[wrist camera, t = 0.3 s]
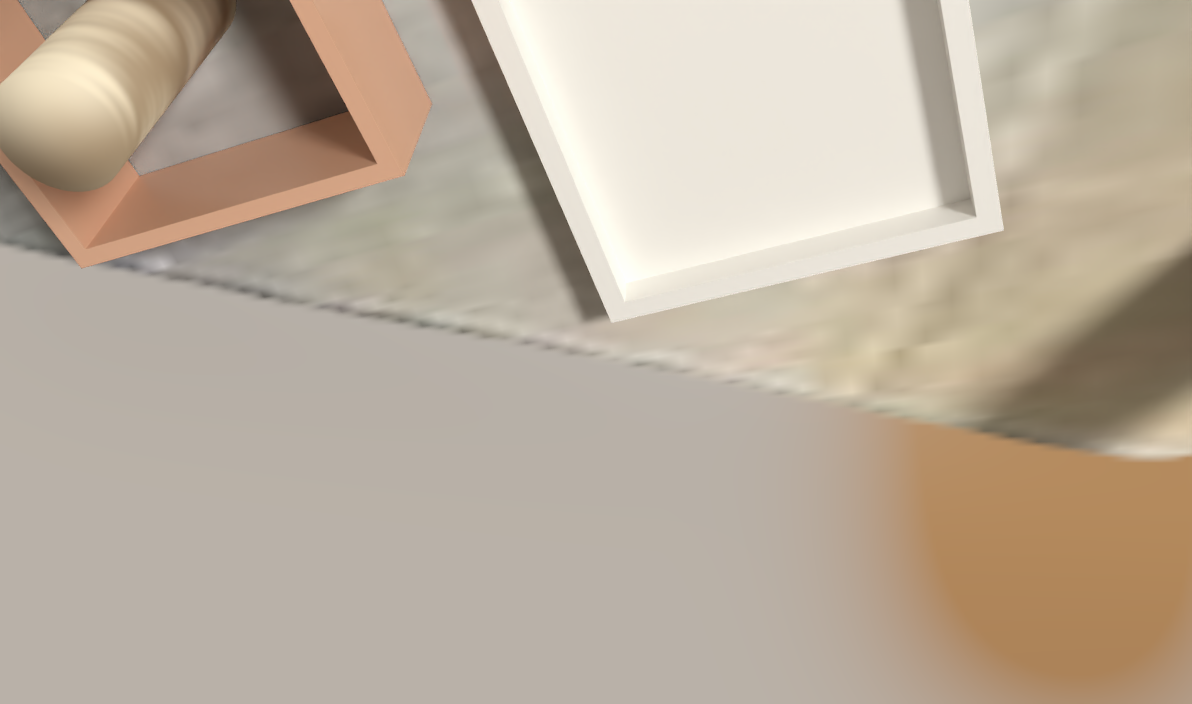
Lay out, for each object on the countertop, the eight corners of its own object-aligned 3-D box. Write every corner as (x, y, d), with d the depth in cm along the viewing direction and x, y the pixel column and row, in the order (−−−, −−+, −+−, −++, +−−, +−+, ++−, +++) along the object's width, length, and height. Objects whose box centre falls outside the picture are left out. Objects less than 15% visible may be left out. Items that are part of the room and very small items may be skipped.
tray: (465, -53, 44) (457, -33, 43) (929, -212, 40) (939, -195, 38) (614, 296, 55) (611, 322, 53) (993, 204, 50) (1003, 230, 49)
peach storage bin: (-95, -133, 44) (-188, -80, 39) (246, -278, 40) (187, -238, 35) (135, 194, 53) (81, 268, 48) (432, 104, 49) (404, 175, 44)
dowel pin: (107, -42, 46) (-41, 95, 36) (199, -76, 45) (69, 56, 35) (168, 54, 48) (43, 205, 39) (255, 24, 47) (148, 173, 38)
